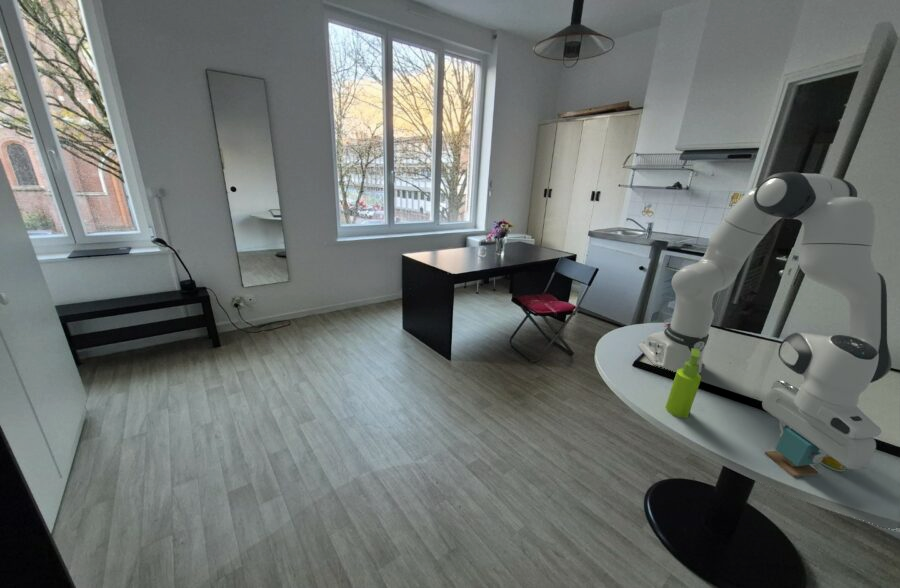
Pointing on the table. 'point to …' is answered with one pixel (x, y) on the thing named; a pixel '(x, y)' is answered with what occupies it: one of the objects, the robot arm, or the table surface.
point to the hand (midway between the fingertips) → (798, 449)
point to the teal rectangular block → (796, 448)
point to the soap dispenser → (684, 387)
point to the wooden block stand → (791, 465)
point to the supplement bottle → (832, 464)
